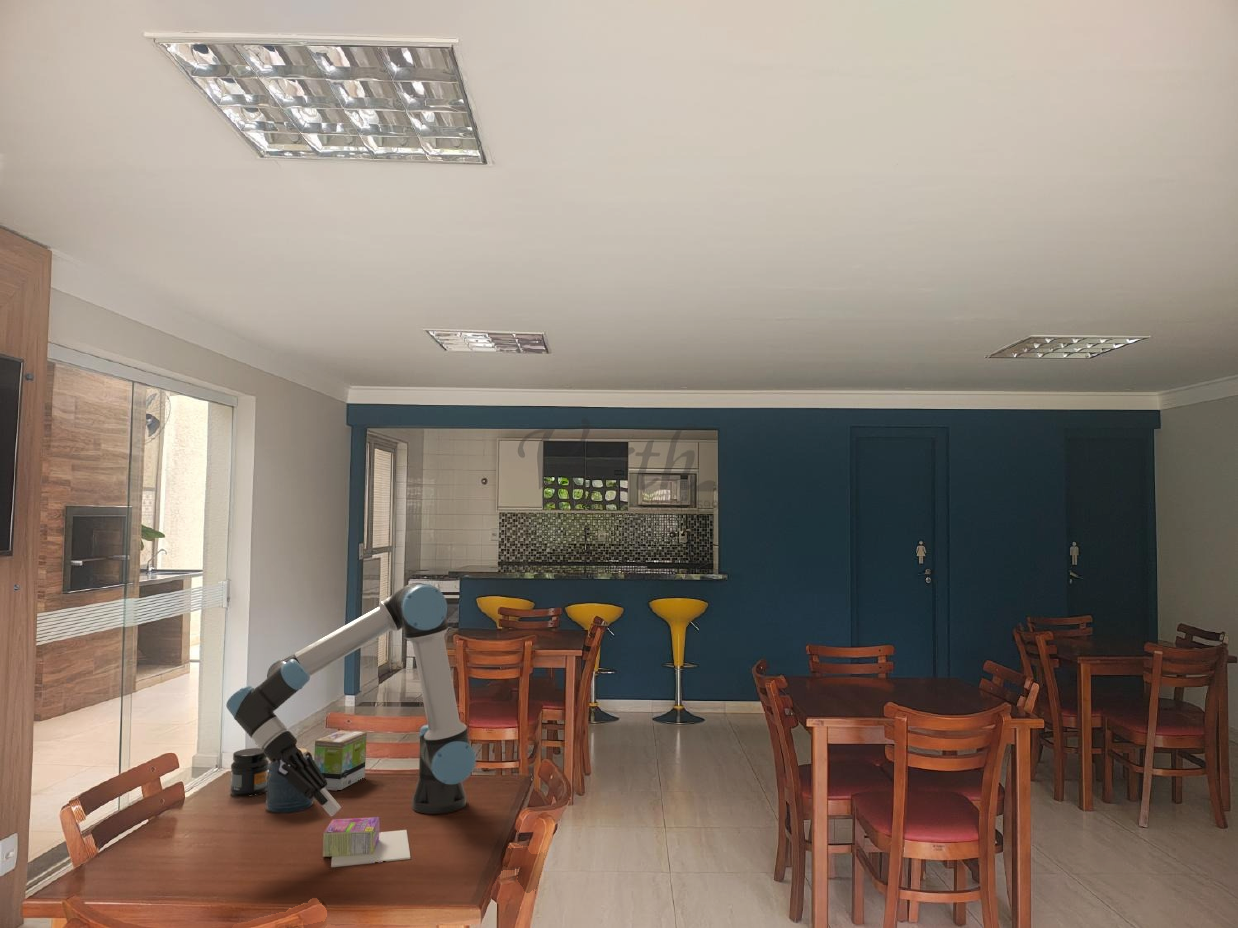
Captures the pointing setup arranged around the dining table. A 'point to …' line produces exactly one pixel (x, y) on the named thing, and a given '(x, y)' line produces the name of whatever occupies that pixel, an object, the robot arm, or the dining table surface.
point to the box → (351, 837)
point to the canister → (284, 792)
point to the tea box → (341, 758)
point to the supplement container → (249, 772)
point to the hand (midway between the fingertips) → (336, 811)
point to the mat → (380, 850)
